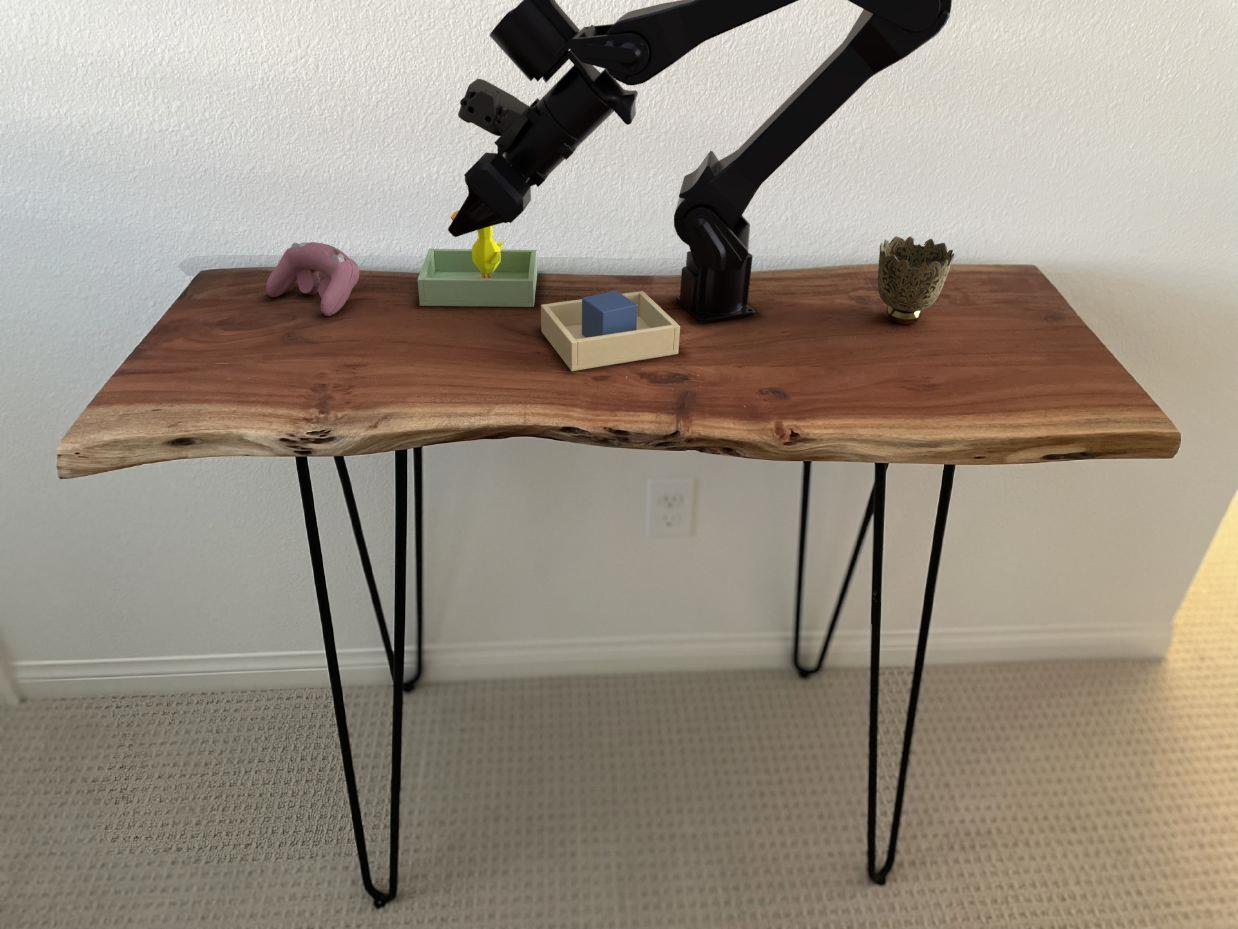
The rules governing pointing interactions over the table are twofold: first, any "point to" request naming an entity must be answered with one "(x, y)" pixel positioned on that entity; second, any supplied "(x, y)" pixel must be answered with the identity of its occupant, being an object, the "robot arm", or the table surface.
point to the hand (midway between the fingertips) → (463, 218)
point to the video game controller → (315, 274)
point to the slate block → (608, 314)
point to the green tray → (477, 279)
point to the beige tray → (609, 335)
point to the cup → (911, 276)
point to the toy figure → (485, 250)
